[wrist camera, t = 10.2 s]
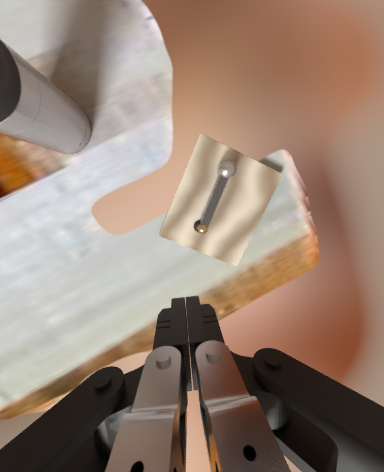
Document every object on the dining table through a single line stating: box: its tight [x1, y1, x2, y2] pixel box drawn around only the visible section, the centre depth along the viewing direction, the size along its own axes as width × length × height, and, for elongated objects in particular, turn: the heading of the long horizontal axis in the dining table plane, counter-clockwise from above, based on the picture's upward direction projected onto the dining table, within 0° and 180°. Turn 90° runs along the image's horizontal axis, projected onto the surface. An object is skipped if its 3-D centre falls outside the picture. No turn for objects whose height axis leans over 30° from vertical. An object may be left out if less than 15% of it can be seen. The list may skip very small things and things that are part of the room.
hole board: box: [159, 133, 283, 266], centre depth 41 cm, size 18×21×2 cm
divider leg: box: [197, 159, 237, 234], centre depth 39 cm, size 14×3×2 cm, turn 158°
